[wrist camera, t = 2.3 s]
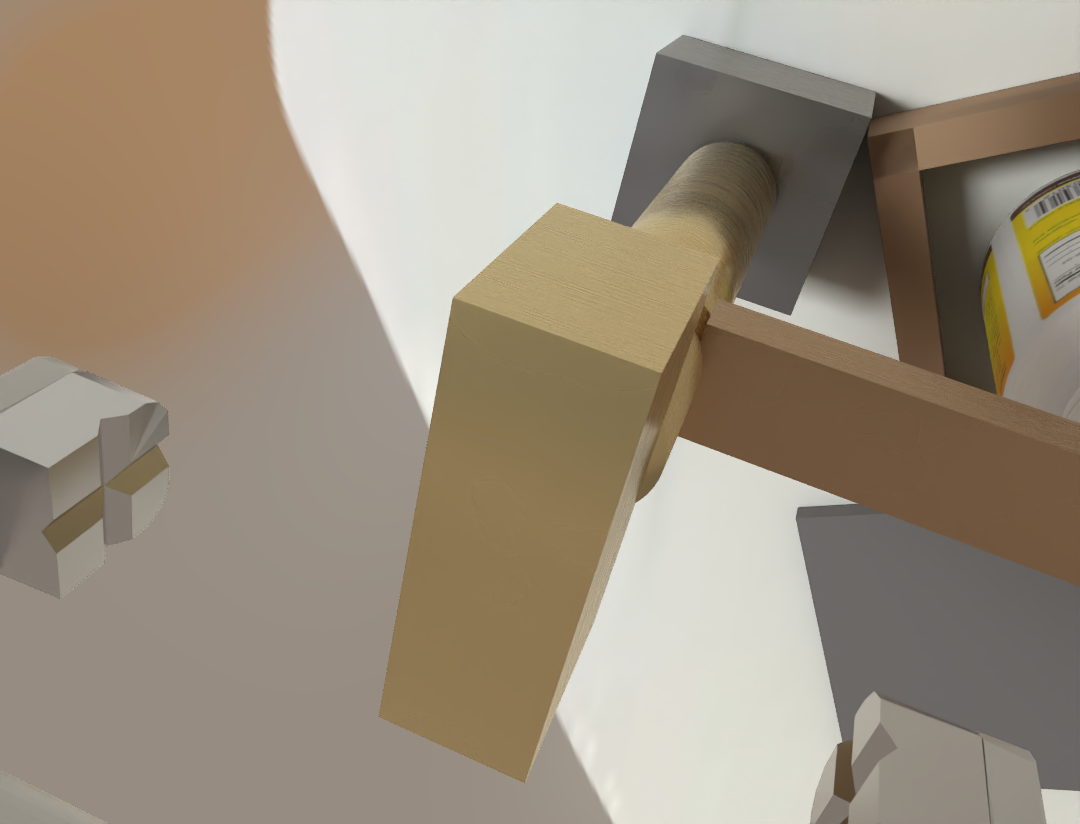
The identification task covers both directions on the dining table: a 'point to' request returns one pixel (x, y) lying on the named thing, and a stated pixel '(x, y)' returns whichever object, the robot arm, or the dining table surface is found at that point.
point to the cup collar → (937, 141)
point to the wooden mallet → (662, 444)
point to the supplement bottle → (1036, 300)
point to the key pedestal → (766, 127)
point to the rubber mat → (946, 633)
